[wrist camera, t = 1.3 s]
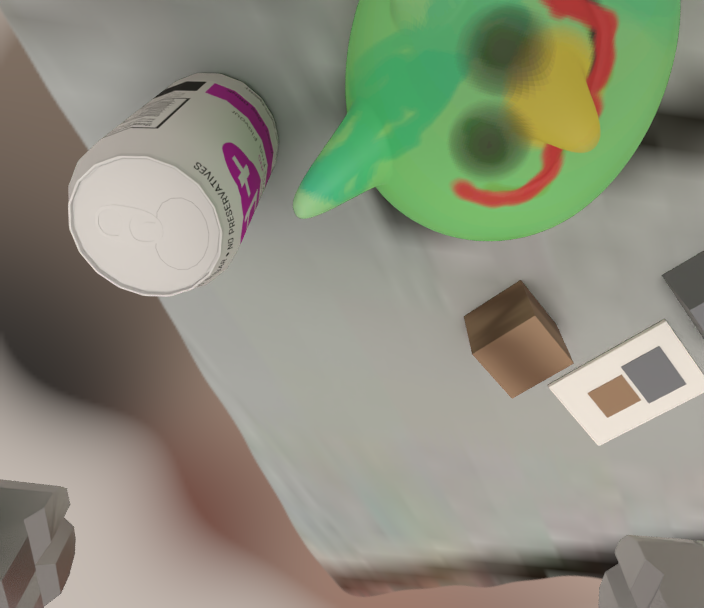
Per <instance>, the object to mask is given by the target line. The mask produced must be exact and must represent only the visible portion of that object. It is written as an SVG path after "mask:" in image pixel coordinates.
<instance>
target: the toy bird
mask: <svg viewBox="0 0 704 608" xmlns="http://www.w3.org/2000/svg"><path fill="white" fill-rule="evenodd" d="M679 25H680V0H359V3H358V6H357V9H356V13H355V16H354V20H353V24H352V29H351V34H350V39H349V45H348V52H347V61H346V76H345V95H346V109H347V115H346V116H345V118H344V119H343V121H342V122H341V124H340V125H339V127H338V128H337V130H336V131H335V133H334V134H333V136H332V137H331V138H330V140H329V141H328V143H327V144H326V146H325V147H324V148H323V150H322V151H321V153H320V154H319V156H318V157H317V159H316V160H315V161H314V163H313V164H312V166H311V167H310V169H309V171H308V172H307V174H306V175H305V177H304V179H303V180H302V182H301V184H300V186H299V188H298V190H297V192H296V194H295V197H294V200H293V210H294V212H295V214H296V216H297V217H299V218H301V219H306V218H311V217H314V216H317V215H320V214H322V213H324V212H326V211H329V210H331V209H333V208H335V207H337V206H339V205H341V204H343V203H344V202H346V201H348V200H350V199H352V198H354V197H356V196H358V195H360V194H362V193H363V192H365V191H367V190H370V189H372V188H374V187H376V188H377V189H378V191H379V192H380V193H381V194H382V195H383V196H384V197H385V198H386V199H387V200H388V201H389V202H390V203H391V204H392V205H393V206H394V207H395V208H396V209H398V210H399V211H400V212H402V213H403V214H404V215H406V216H407V217H409V218H410V219H412V220H413V221H415V222H417V223H419V224H421V225H423V226H425V227H427V228H429V229H431V230H434V231H436V232H439V233H442V234H445V235H448V236H452V237H456V238H461V239H467V240H476V241H502V240H511V239H517V238H522V237H526V236H530V235H533V234H536V233H539V232H542V231H545V230H547V229H550V228H552V227H554V226H556V225H558V224H560V223H562V222H564V221H566V220H567V219H569V218H571V217H572V216H574V215H575V214H577V213H578V212H579V211H581V210H582V209H583V208H585V207H586V206H587V205H588V204H590V203H591V202H592V201H593V200H594V199H595V198H597V197H598V196H599V195H600V194H601V193H602V192H603V191H604V190H605V189H606V188H607V187H608V186H609V185H610V183H611V182H612V181H613V180H614V179H615V178H616V177H617V175H618V174H619V173H620V172H621V170H622V169H623V168H624V167H625V165H626V164H627V162H628V161H629V160H630V158H631V157H632V155H633V154H634V152H635V151H636V149H637V148H638V146H639V144H640V143H641V141H642V139H643V138H644V136H645V134H646V132H647V130H648V128H649V127H650V125H651V123H652V121H653V118H654V116H655V114H656V112H657V110H658V107H659V105H660V102H661V100H662V97H663V95H664V92H665V89H666V86H667V83H668V80H669V76H670V73H671V69H672V66H673V61H674V57H675V52H676V47H677V41H678V34H679Z"/></svg>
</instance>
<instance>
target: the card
mask: <svg viewBox="0 0 704 608" xmlns="http://www.w3.org/2000/svg"><path fill="white" fill-rule="evenodd" d="M548 387H549V388H550V390H551V391H552V392H553V393H554V394H555V396H556V397H557V398H558V399H559V400H560V401H561V403H562V404H563V405H564V406H565V407H566V408H567V410H568V411H569V412H570V413H571V414H572V416H573V417H574V418H575V419H576V420H577V421H578V423H579V424H580V425H581V426H582V427H583V428H584V430H585V431H586V432H587V433H588V434H589V435H590V437H591V438H592V439H593V440H594V441H595V443H596V444H597V445H598V446H600V445H602V444H604V443H606V442H608V441H610V440H612V439H613V438H615V437H617V436H619V435H621V434H623V433H625V432H627V431H629V430H631V429H633V428H635V427H637V426H639V425H641V424H643V423H645V422H647V421H649V420H651V419H653V418H655V417H657V416H659V415H661V414H663V413H665V412H666V411H668V410H670V409H672V408H674V407H676V406H678V405H680V404H682V403H684V402H686V401H688V400H690V399H692V398H694V397H696V396H698V395H700V394H702V393H704V375H703V373H702V372H701V370H700V369H699V368H698V366H697V365H696V363H695V362H694V360H693V359H692V358H691V356H690V355H689V353H688V352H687V350H686V349H685V347H684V346H683V345H682V343H681V342H680V340H679V339H678V337H677V336H676V335H675V333H674V332H673V330H672V329H671V327H670V326H669V324H668V323H667V322H666V320H665V319H664V320H662V321H660V322H659V323H657V324H655V325H653V326H652V327H650V328H648V329H646V330H644V331H643V332H641V333H639V334H637V335H636V336H634V337H632V338H630V339H629V340H627V341H625V342H623V343H621V344H620V345H618V346H616V347H614V348H613V349H611V350H609V351H607V352H605V353H604V354H602V355H600V356H598V357H597V358H595V359H593V360H591V361H590V362H588V363H586V364H584V365H582V366H581V367H579V368H577V369H575V370H574V371H572V372H570V373H568V374H567V375H565V376H563V377H561V378H559V379H558V380H556V381H554V382H552V383H551V384H549V385H548Z"/></svg>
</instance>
